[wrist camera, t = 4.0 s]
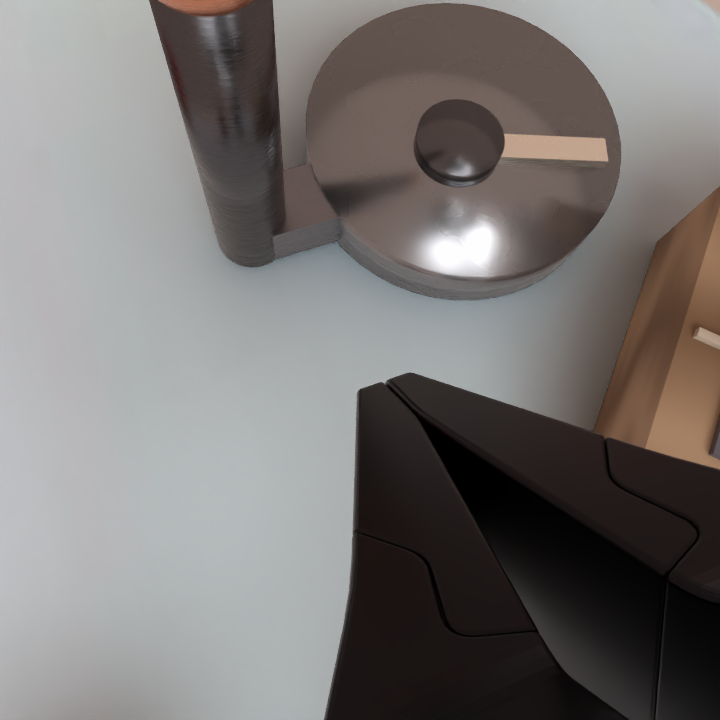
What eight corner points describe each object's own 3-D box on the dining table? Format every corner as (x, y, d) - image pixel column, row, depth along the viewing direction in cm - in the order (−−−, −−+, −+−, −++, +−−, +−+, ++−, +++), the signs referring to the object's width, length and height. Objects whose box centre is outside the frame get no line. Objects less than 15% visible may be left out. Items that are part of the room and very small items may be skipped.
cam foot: (519, 404, 23) (827, 189, 9) (195, 255, 24) (44, -146, 10) (630, 113, 27) (953, -323, 14) (353, -6, 28) (396, -534, 14)
